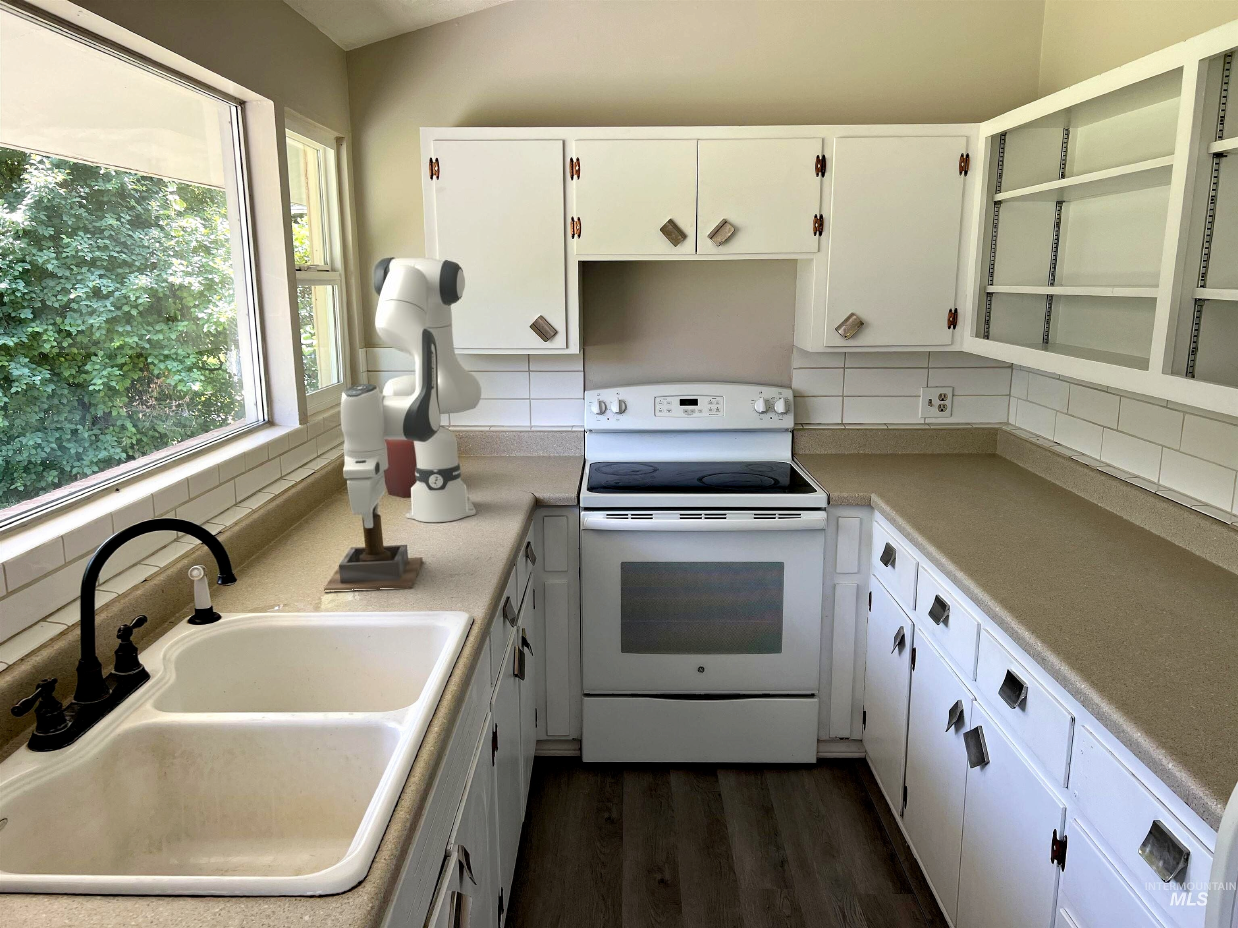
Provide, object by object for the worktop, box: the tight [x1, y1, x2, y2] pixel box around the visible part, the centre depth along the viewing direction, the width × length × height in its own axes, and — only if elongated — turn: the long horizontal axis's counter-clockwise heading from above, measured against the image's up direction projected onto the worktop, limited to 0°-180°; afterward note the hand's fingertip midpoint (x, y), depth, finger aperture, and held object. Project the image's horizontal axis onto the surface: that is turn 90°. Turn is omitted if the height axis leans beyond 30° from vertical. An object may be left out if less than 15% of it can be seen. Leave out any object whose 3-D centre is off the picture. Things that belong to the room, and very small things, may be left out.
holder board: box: [323, 544, 424, 592], centre depth 192 cm, size 18×18×5 cm
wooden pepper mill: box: [360, 505, 391, 562], centre depth 191 cm, size 7×6×18 cm
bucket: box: [384, 425, 450, 499], centre depth 266 cm, size 24×22×25 cm
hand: (371, 523), depth 191 cm, fingers closed on wooden pepper mill, 4 cm apart
